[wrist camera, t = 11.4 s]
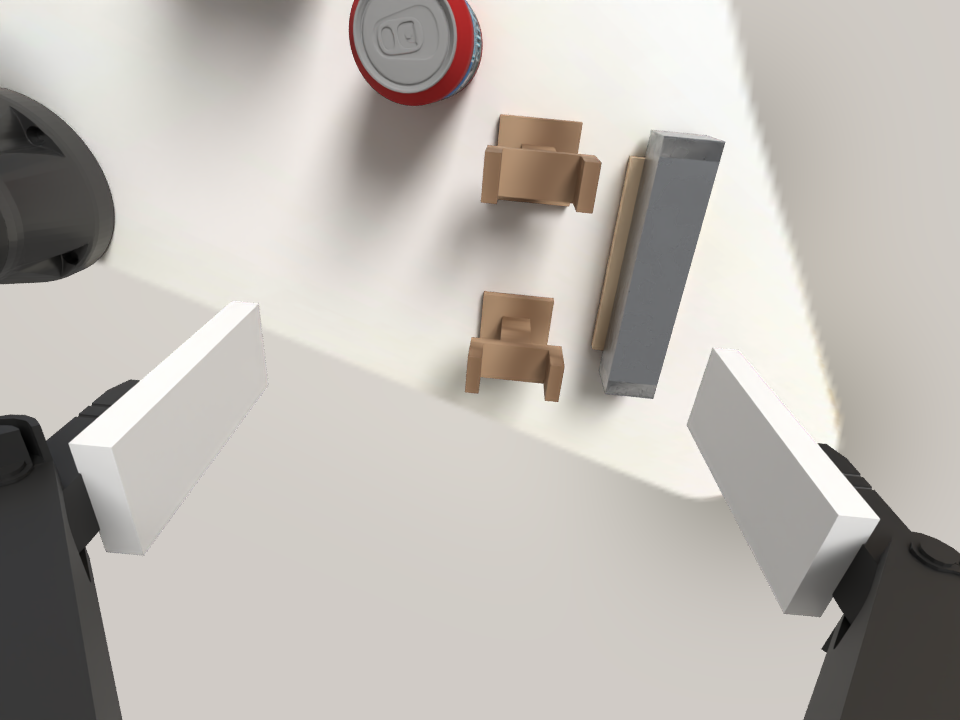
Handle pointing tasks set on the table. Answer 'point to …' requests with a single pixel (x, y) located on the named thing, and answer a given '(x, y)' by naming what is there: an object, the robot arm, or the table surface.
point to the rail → (657, 258)
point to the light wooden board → (617, 250)
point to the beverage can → (415, 47)
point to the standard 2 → (540, 164)
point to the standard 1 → (515, 344)
